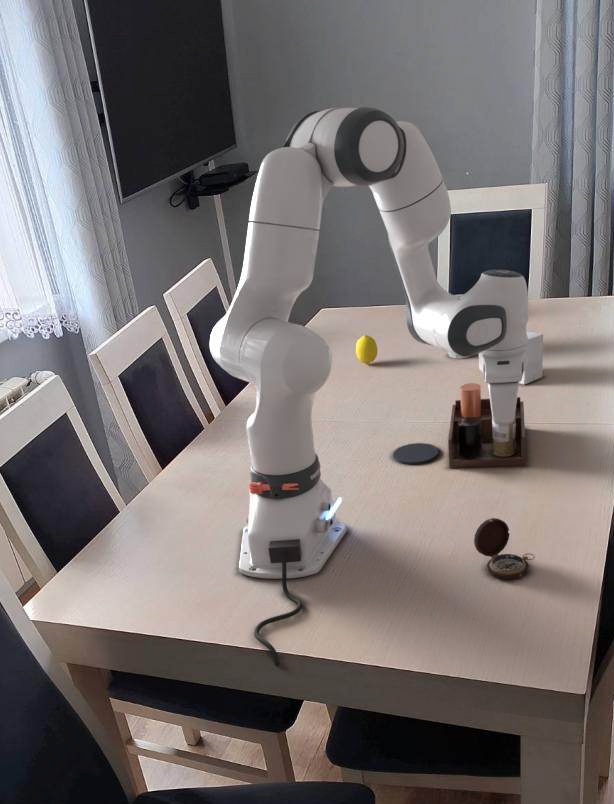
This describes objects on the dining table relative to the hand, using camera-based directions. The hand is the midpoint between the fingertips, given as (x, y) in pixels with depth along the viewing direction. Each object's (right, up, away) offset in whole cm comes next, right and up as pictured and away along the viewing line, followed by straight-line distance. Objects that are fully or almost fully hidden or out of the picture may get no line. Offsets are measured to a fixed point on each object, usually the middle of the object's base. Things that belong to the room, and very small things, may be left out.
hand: (503, 426), depth 168 cm
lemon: (-18, +24, +59) cm, 66 cm away
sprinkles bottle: (+1, -5, +3) cm, 6 cm away
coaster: (-15, -5, +8) cm, 18 cm away
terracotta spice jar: (-4, +4, +9) cm, 10 cm away
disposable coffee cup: (+6, +25, +55) cm, 61 cm away
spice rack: (-2, -4, +6) cm, 7 cm away
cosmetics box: (+14, +16, +36) cm, 42 cm away
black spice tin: (-5, -5, +5) cm, 9 cm away
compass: (-8, -26, -32) cm, 42 cm away
